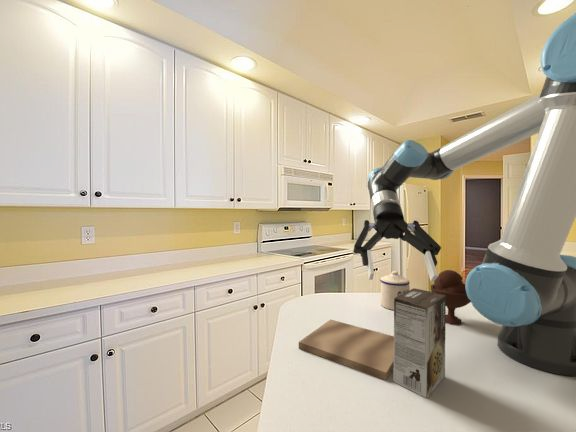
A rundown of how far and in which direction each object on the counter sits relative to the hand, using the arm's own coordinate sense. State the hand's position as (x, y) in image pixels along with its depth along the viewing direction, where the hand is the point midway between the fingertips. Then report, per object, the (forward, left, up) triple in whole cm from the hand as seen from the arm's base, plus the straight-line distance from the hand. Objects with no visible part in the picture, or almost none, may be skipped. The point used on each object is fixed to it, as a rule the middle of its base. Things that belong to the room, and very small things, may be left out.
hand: (402, 277), depth 62 cm
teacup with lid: (+9, -30, -17) cm, 36 cm away
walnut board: (+10, +5, -17) cm, 20 cm away
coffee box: (-5, +9, -17) cm, 20 cm away
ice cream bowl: (-7, -26, -17) cm, 32 cm away
